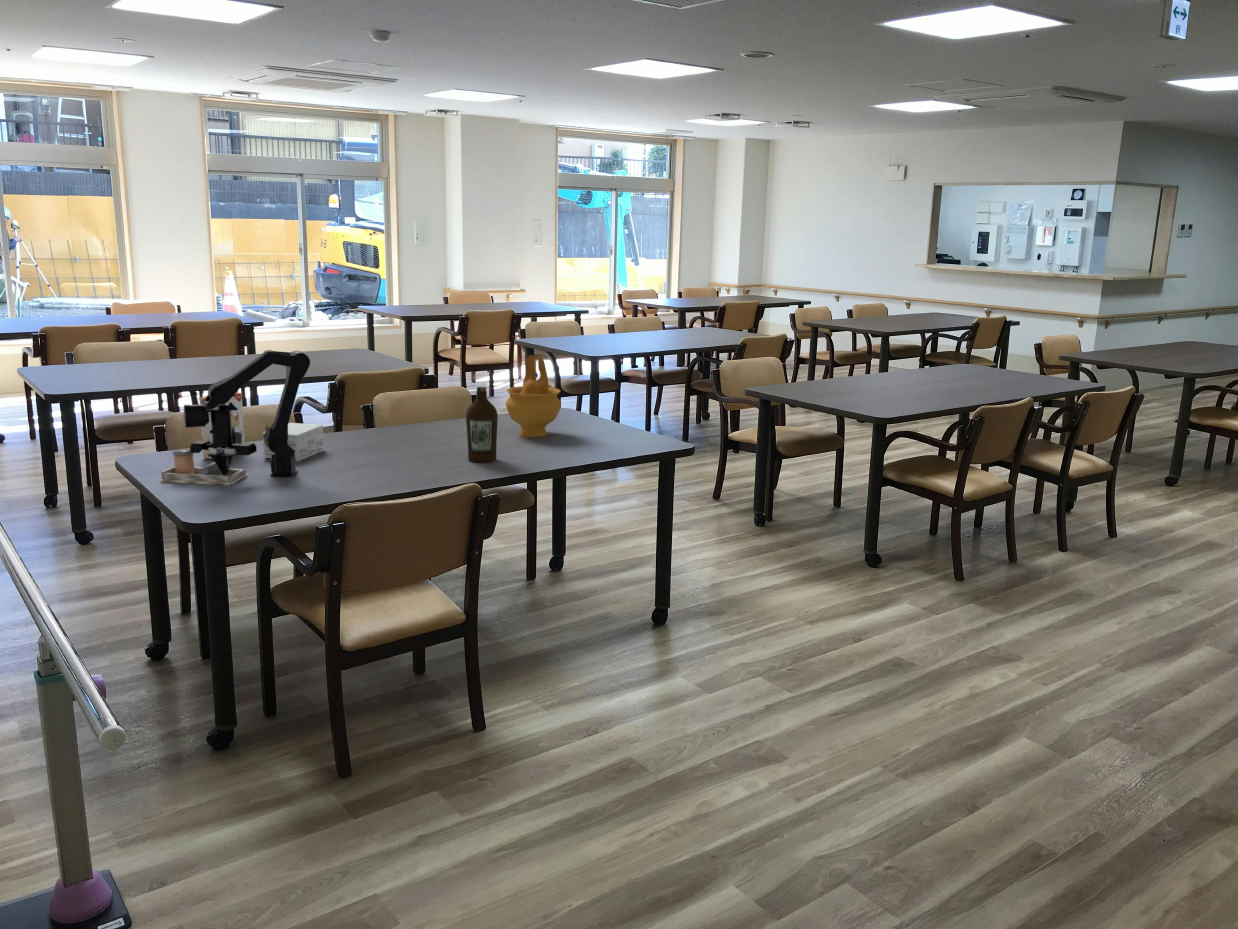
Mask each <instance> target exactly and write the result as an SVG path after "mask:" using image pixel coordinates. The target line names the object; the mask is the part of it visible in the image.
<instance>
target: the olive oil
mask: <svg viewBox="0 0 1238 929" xmlns="http://www.w3.org/2000/svg"><path fill="white" fill-rule="evenodd" d="M487 392H488V391H487V387H486V386H477V387H476V399H474V401H473V402H472V403H471V404H470V405H469V406H468V408H467V409H466V414H465V420H466V421H465V422H466V435H467V437H466V438H467V439H466V440H467V457H468V461H469V462H472V463H477V464H480V463H481V464H487V463H493V462H495V461H496V460H497V446H498V445H497V442H498V440H497V439H498V438H497V436H498V423H499V422H498V419H499V416H498V411H497V409H496V406H494V404H492V402H490V400H488V398H487V397H488V393H487Z"/></svg>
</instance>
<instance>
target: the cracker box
mask: <svg viewBox="0 0 1238 929" xmlns="http://www.w3.org/2000/svg"><path fill="white" fill-rule="evenodd" d="M242 396H243V394H242V392H239V391H237V393H236V394H235V395H234V396H233V397H232V398H231V399H230V400H229V401H228V402H227V403H225V404H223V405H227V404H228V403H229V402H232V404H233V405H234V406H236V407H237V410H233V411H231V423H232V427H234V429H235V432H238V433H241V434H242V442H241V443H243V442H245V430H244V415H243V414H244V412H243V411H244V410H243V409H244V408H243V397H242ZM206 397H207V395H206V396H205V395H204V396H201V397H199V398H198V399H199V405H202V402H203V401H204V400H205V398H206ZM219 405H220V404H219ZM215 408H217V406H216V407H215ZM208 413H209V423H208V424H206V426H205V427H200V428H201V440H203V441H210V442H211V443H213V440H212V433H210V431H209V430H211V429H212V427H211V414H210V412H208ZM233 445H239V444H238V443H236V444H233ZM218 448H221V447H218ZM208 454H209V450H202V456H203V459H207V460H211V459H212V457H210V456H208ZM212 460H213V459H212ZM213 461H214V460H213Z"/></svg>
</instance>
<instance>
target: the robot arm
mask: <svg viewBox="0 0 1238 929" xmlns="http://www.w3.org/2000/svg"><path fill="white" fill-rule="evenodd" d="M272 365H277V366H282V367H283V366H284V367H285V373H286V374H285V381H284V385H283V388H282V391H281V396H280V400H279V402H278V406H277V410H276V413H275V418H274V421H273V422H272V423H271V425H269V424H268V425H267V424H265V425H266V426H265V431H264V432H265V434H264V435H263V434H262V438H263V437H264V442H265V444H266V446H267V447H268V448H269V449H270V450H271V451H272V452H273V453H274V455H272V459H269V460H270V472H271V473H270V474H269V475H270V477H286V478H287V477H292V476H295V474H297V473H298V472H299V470H296V469H297V468H296V461H295V450H294V449H293V448H292V447H291V446H290V445H289V444H287V442H288V423H290V419H291V415H292V412H293V408H294V405H295V401H296V398H297V394H298V390H299V387H300V383H301V381H302V380H303V379H304V377H305V376H306V374H307V372H308V370H309V368H310V365H311V359H310V357H309V355H307V354H306V353H304V352H303V351H300V350H293V351H291V352H287V351H278V350H277V351H276V350H272V349H267V350H264V351H263V352H262V353H261V354H260V355H259V356H257V357H256V358H255V359H253V360H252V361H251V362H249V363H248V364H246V365H245V366H243V367H242V368H240V369H239V370H238V371H237V372H235V373H233V375H230V376H228V377H226V378H223V379H221V380H218V381H216V382H214V383H212V384H211V385H210V386H209V387H208V389H207V395H206V396H207V397H206V398H205V400H204V401H203V402H202V405H200V404H184V405H183V424H184V428H185V429H188V428H189V429H190V428H201V427H205V426H206V424H208V423H209V413H208V412H210V414H211V427H212V429H211V430H209V431H210V433H212V440H213V443H211V442H210V441H203V440H202V439H201V440H200V439H198V440H197V441H194V442H192V443H190V445H189V449H190V453H194V454H200V453H201V452H203V450H209V454H208V456H210V457H212V459H213V462H215V463H216V464H217V466H218V467H219V469H220V471H221V473H222V474H223V475H225V476H226V475H227V474H228V471H229V469H230V466H231V464H232V461H233V459H234V457H235V456H236V455H237V456H250V455H252V454H255V453H256V452H257V445H256V444H255V443H254V442H245V441H244V442H243V443H241V442H242V434H241V433H238V432H235V429H234V427H232V423H231V411H233V410H237V407H236V406H234V405H233V404H232V402H229V403H228V404H227V405H223V404H225V403H227V402H228V401H229V400H230V399H231V398H232V397H233V396H234V395H235V394H236V393H237V392H239V390H240V389H242V388H241V387H243V386H245V385H246V384H247V383H248V382H250V381H251V380H253V379H254V378H255V377H257V376H258V375H259V374H261V373H262V372H264V371H265V370H266V369H268V368H270V366H272ZM219 404H220V405H219ZM216 406H217V408H215V407H216ZM236 443H238V444H239V445H233V444H236ZM218 447H221V448H218Z"/></svg>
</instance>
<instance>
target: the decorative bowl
mask: <svg viewBox="0 0 1238 929" xmlns="http://www.w3.org/2000/svg"><path fill="white" fill-rule="evenodd" d="M537 363H538V364H537V365H538V371H539V374H540V375H539V376H540V377H539V379H537V377H536V373H537V372H536V370H537V369H536V365H535V364H536V360H535V356H534V355H529V356H527V357H526V358H525V363H524V364H525V368H526V369H525V370H526V373H525V377H524V379H523V381H522V386H521V385H520V386H513V387H508V388H507V389H506V392H507V393H508V394H509V395H510V396H509V397H508V398H507V399H506V402H505V407H506V410H507V413H508V415H509V417H510V419H512V421H513V422H515V423H516V424H518V425H519V426H520V427H521V430H520V432H519V435H520V434H521V436H522V437H528V438H540V437H545V436H548V433H547V431H546V427H547V426H548V425H549V424H551V423H552V422H554V421H555V420H556V419H557V417H558V415H559V413H560V411H561V407H562V402H561V400H560V398H558V395H559V394H560V393H561V390H560V389H559V388H556V387H552V386H549V378H548V374H547V369H546V364H545V361H544V359H543V357H542V356H541V355H540V356H539V357H538V359H537Z"/></svg>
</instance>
